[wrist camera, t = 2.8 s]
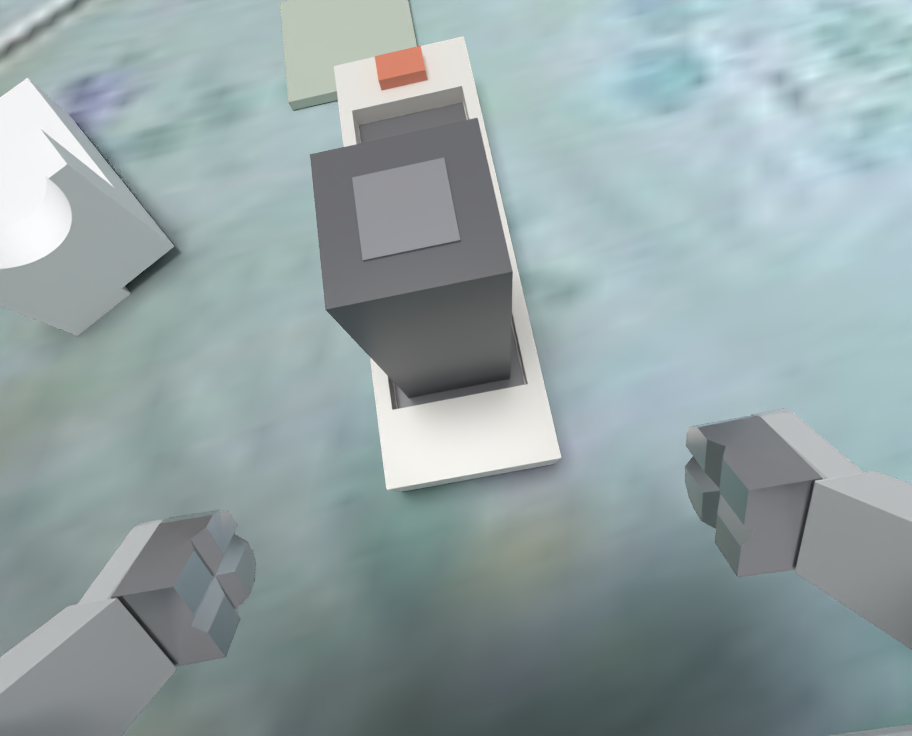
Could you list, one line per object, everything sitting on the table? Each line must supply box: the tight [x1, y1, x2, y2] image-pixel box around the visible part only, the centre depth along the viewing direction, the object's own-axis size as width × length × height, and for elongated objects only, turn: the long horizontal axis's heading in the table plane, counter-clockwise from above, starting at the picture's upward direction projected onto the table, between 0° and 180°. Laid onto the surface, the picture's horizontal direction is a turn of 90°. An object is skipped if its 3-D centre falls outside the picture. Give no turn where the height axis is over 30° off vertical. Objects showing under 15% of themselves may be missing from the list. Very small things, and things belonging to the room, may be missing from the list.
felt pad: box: [280, 0, 417, 110], centre depth 29 cm, size 8×8×1 cm
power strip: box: [334, 36, 561, 492], centre depth 23 cm, size 22×7×4 cm, turn 10°
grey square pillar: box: [310, 118, 513, 398], centre depth 17 cm, size 4×4×10 cm
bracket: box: [0, 78, 174, 336], centre depth 25 cm, size 13×7×8 cm, turn 42°
